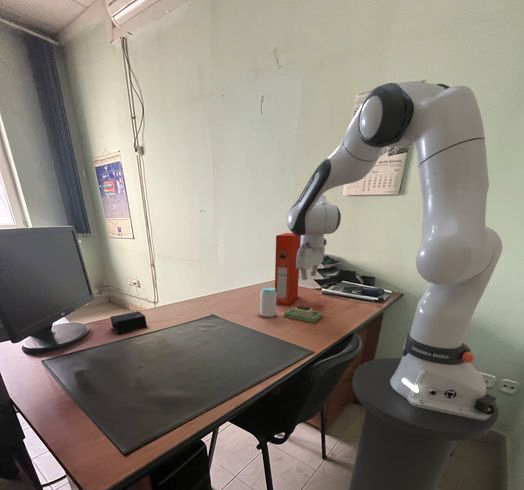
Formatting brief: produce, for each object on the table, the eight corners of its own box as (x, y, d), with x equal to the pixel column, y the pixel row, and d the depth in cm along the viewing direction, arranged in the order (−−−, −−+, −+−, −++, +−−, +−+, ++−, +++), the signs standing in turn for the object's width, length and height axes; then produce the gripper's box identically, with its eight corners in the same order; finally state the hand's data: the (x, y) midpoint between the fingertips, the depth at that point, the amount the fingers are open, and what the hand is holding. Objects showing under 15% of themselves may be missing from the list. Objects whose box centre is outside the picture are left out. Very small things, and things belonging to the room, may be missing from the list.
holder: (321, 316, 126) (322, 312, 125) (313, 323, 119) (314, 318, 118) (293, 311, 132) (294, 307, 131) (284, 316, 125) (284, 312, 124)
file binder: (273, 303, 142) (276, 235, 128) (283, 295, 157) (286, 232, 143) (289, 305, 140) (293, 235, 126) (297, 296, 154) (301, 233, 140)
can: (277, 317, 124) (278, 290, 118) (261, 318, 123) (261, 290, 118) (274, 312, 130) (275, 286, 125) (259, 312, 129) (259, 286, 124)
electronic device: (112, 328, 110) (110, 316, 107) (141, 322, 116) (138, 311, 113) (118, 334, 104) (115, 322, 102) (147, 328, 110) (145, 316, 108)
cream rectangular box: (312, 315, 126) (313, 306, 124) (308, 318, 122) (309, 309, 120) (298, 312, 129) (298, 304, 127) (293, 315, 125) (293, 307, 123)
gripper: (308, 244, 101) (306, 283, 107) (328, 240, 117) (324, 274, 123) (292, 243, 104) (291, 281, 110) (313, 239, 120) (311, 273, 126)
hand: (309, 277), depth 117 cm, fingers open, 8 cm apart
